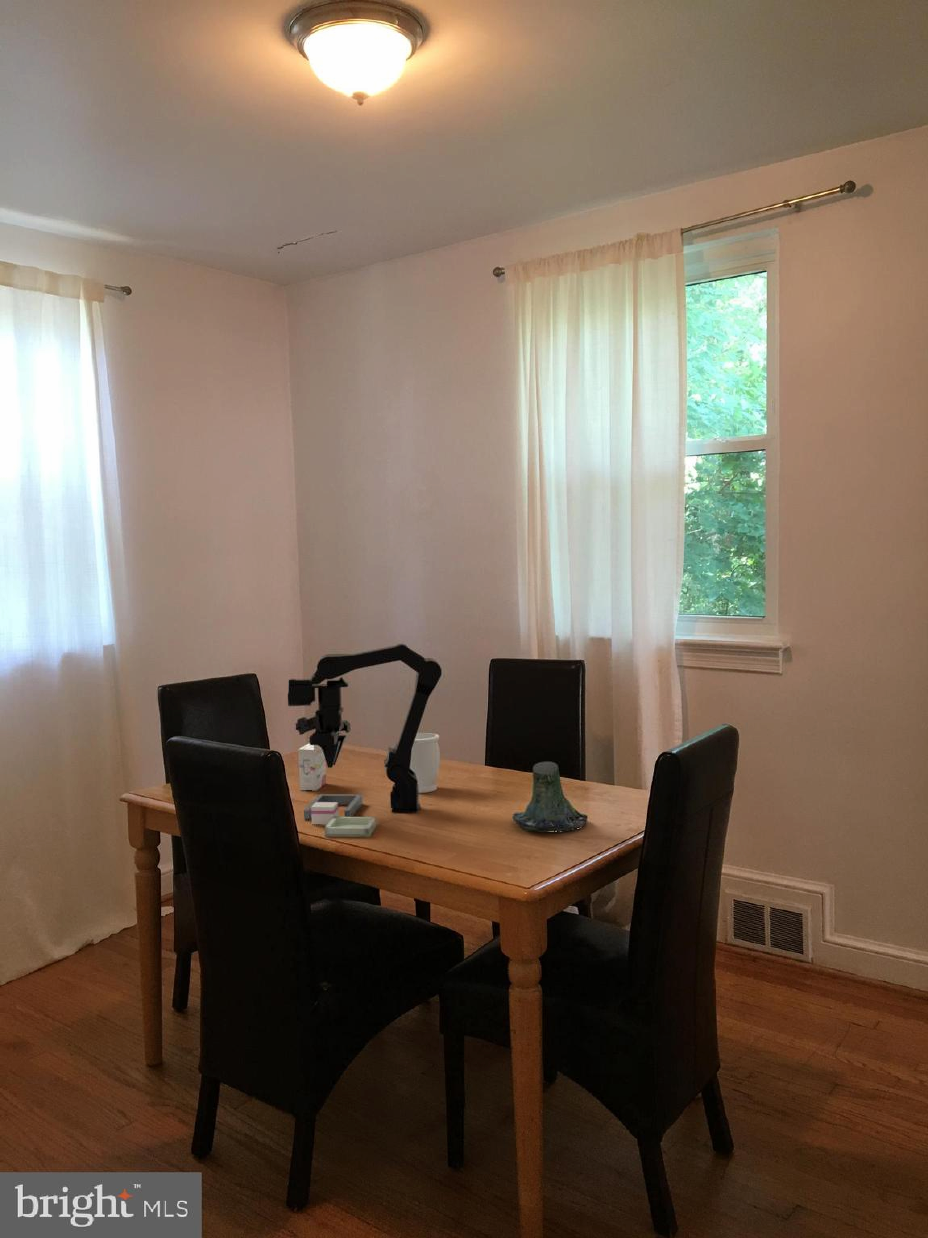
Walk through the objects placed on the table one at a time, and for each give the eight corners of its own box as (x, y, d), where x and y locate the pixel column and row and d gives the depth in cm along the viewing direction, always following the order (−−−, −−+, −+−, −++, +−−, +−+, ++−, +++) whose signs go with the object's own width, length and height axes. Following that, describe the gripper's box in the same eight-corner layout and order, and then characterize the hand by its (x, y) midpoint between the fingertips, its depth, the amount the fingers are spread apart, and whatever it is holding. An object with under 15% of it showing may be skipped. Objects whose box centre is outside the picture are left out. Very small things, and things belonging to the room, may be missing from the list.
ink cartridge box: (310, 783, 278) (308, 732, 277) (326, 783, 277) (325, 732, 276) (299, 790, 270) (297, 738, 269) (316, 791, 269) (314, 738, 268)
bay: (362, 804, 254) (362, 794, 254) (349, 820, 239) (349, 810, 239) (319, 803, 256) (319, 794, 255) (304, 820, 241) (303, 810, 240)
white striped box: (338, 820, 240) (337, 802, 240) (333, 825, 236) (333, 807, 236) (316, 820, 241) (315, 802, 241) (311, 825, 236) (311, 807, 236)
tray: (376, 825, 235) (376, 817, 235) (368, 837, 226) (368, 828, 225) (334, 824, 236) (333, 816, 236) (324, 836, 227) (324, 828, 226)
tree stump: (597, 817, 240) (596, 751, 234) (577, 861, 222) (576, 791, 217) (525, 808, 246) (523, 743, 241) (501, 849, 229) (498, 781, 223)
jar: (398, 794, 264) (396, 739, 263) (406, 784, 274) (405, 732, 273) (436, 795, 262) (435, 740, 261) (443, 785, 272) (442, 732, 271)
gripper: (308, 699, 254) (309, 758, 256) (287, 711, 236) (289, 774, 237) (350, 699, 253) (351, 758, 254) (333, 711, 235) (334, 775, 236)
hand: (331, 766), depth 246 cm, fingers open, 3 cm apart
